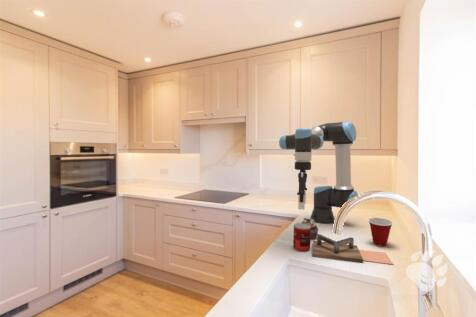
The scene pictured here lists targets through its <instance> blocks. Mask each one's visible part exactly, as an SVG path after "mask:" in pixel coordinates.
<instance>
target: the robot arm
mask: <svg viewBox="0 0 476 317" xmlns="http://www.w3.org/2000/svg"><path fill="white" fill-rule="evenodd" d="M356 139H357V130H356V127H355V124H354V123H353V122H352V121H339V122H327V123H323V124H319V125H317V126H313V127H312V128H307V127H302V128H301V127H300V128H296V129H295V132H294V133H293V134H291V135H289V134H288V135H287V134H286V135H282V136H281V137H279V141H278V143H279V147H280V148H281V150H295V151H294V153H295V154H293V157H294V161H295V162H294V170H295V171H299V173H298V174H297V177H298V191H297V192H296V195H297V196H298V197H297V198H298V201H297V202H298V204H297V205H298V210H301V211H303V210H305V209H306V208H305V206H306V201H307V200H306V199H307V198H306V196H307V194H306V192H307V191H308V188H307V185H306V184H307V178H308V173H307V171H311V170H312V150H320V149H321V148H322V147H323V146H324V142H331V143H332V146H333V147H334V150H335V151H334V154H335V155H334V156H335V185H334V186H332V185H321V186H315V187H314V189H313V210H312V212H311V215H310V219H311V218H312V219H313V220H314V221H315V222H314V223H318V222H319V224H333V223H335V222H334V220H336V219H335V216H334V212H333V207H334V208H340V209H342V208H341V207H342V205H343V204H344V203H345V202H347V201H348V200H349V199H351V198H353V197H355V196H357V197H358V191H357V190H355V188H354V187H355V186H353V185H352V173H351V172H352V169H351V168H352V167H351V166H352V164H351V162H352V161H351V146H352V145H353V144H354V142H355V141H356ZM331 222H332V223H331Z"/></svg>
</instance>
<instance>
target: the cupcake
mask: <svg viewBox="0 0 476 317" xmlns="http://www.w3.org/2000/svg"><path fill="white" fill-rule="evenodd" d="M300 223H303V224H308V225H310V227H311V239H310V241H316V240H317V234H319V228H318V226H317V224H316V222H314V220H313V219H312V218H311V217H310V218H306V217H305V218H303V221H302V222H300Z"/></svg>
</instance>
